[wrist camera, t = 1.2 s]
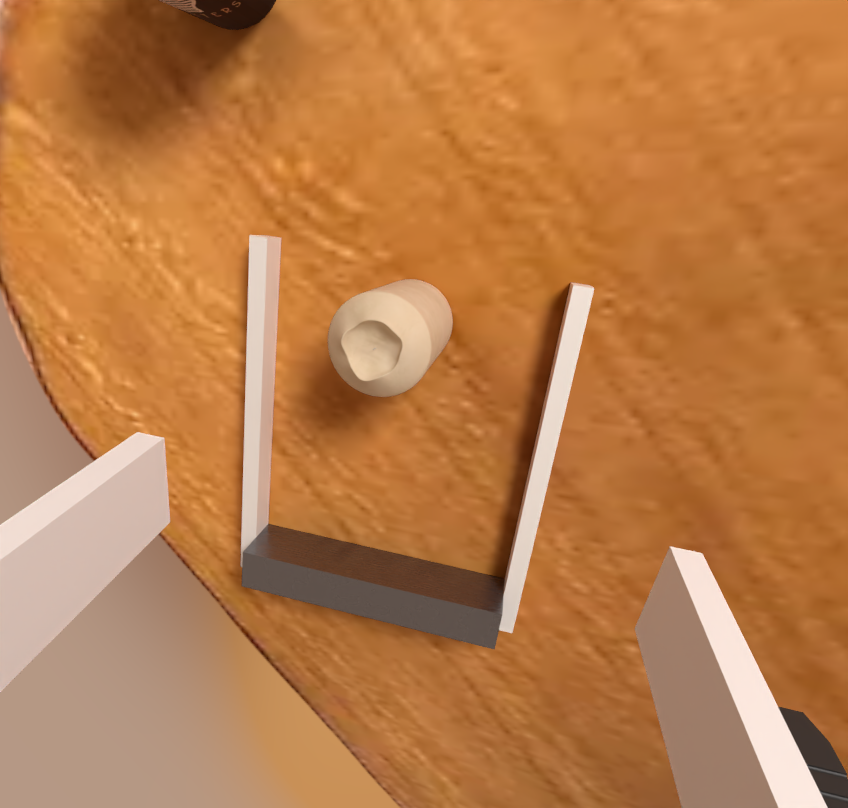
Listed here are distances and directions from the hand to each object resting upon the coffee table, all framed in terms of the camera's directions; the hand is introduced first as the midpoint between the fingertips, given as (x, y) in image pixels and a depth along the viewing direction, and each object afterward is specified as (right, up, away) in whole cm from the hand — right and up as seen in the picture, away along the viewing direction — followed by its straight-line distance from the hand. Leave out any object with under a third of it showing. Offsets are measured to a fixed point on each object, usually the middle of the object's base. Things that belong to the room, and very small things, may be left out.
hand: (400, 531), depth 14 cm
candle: (0, +9, +22) cm, 23 cm away
